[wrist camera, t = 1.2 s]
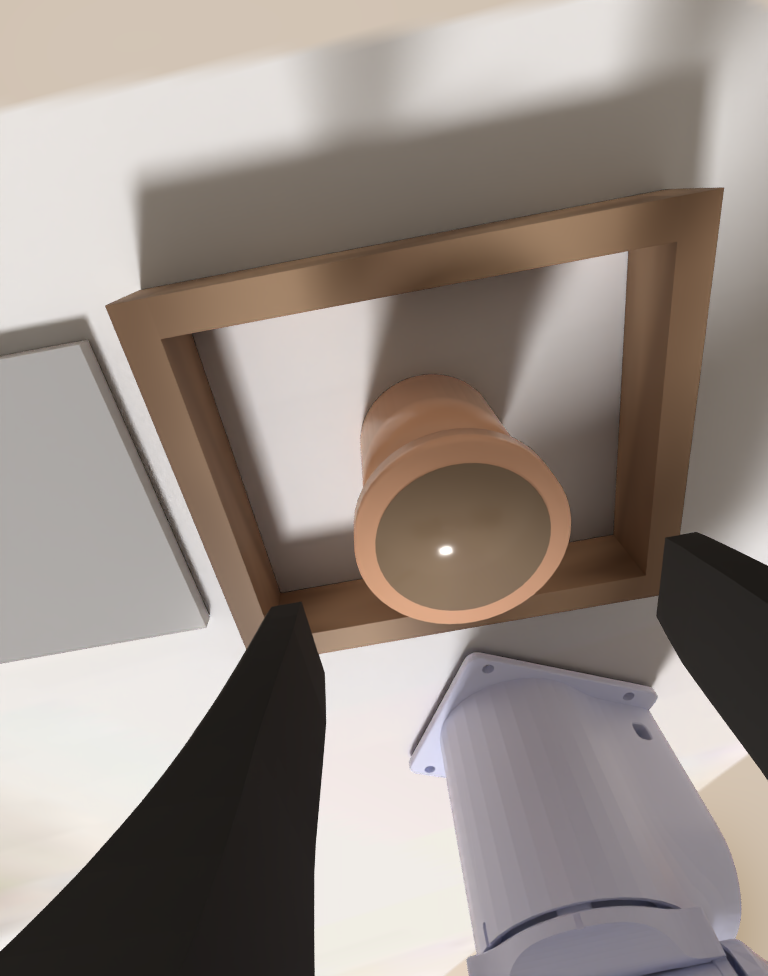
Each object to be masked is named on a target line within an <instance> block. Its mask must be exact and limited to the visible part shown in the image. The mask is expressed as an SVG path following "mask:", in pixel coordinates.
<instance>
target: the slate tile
mask: <svg viewBox="0 0 768 976" xmlns="http://www.w3.org/2000/svg"><path fill="white" fill-rule="evenodd" d="M209 618H210V616H209V614H208V612H207V609H206V607H205V605H204V602H203V600H202V598H201V596H200V593H199V591H198V589H197V587H196V584H195V582H194V580H193V577H192V575H191V573H190V571H189V568H188V566H187V564H186V562H185V559H184V557H183V555H182V552H181V550H180V548H179V546H178V543H177V541H176V539H175V536H174V534H173V532H172V530H171V527H170V525H169V523H168V521H167V518H166V516H165V514H164V511H163V509H162V507H161V505H160V502H159V500H158V498H157V496H156V493H155V491H154V489H153V486H152V484H151V482H150V480H149V477H148V475H147V473H146V470H145V468H144V466H143V464H142V461H141V459H140V457H139V455H138V452H137V450H136V448H135V445H134V443H133V441H132V439H131V436H130V434H129V432H128V430H127V427H126V425H125V423H124V420H123V418H122V416H121V414H120V411H119V409H118V407H117V404H116V402H115V400H114V398H113V395H112V393H111V391H110V389H109V386H108V384H107V382H106V379H105V377H104V375H103V373H102V370H101V368H100V366H99V364H98V361H97V359H96V357H95V354H94V352H93V350H92V348H91V345H90V343H89V341H88V340H83V341H78V342H73V343H67V344H62V345H57V346H51V347H46V348H41V349H36V350H30V351H25V352H20V353H15V354H9V355H4V356H0V664H2V663H7V662H13V661H19V660H24V659H30V658H36V657H42V656H47V655H53V654H59V653H65V652H70V651H76V650H82V649H87V648H93V647H99V646H105V645H110V644H116V643H122V642H127V641H133V640H139V639H145V638H150V637H156V636H162V635H168V634H173V633H179V632H185V631H190V630H196V629H202V628H206V627H207V624H208V621H209Z"/></svg>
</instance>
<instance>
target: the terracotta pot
mask: <svg viewBox="0 0 768 976" xmlns="http://www.w3.org/2000/svg"><path fill="white" fill-rule="evenodd" d="M360 445H361V462H362V478H363V489H362V491H361V494H360V496H359V498H358V501H357V505H356V509H355V515H354V551H355V557H356V562H357V566H358V568H359V571H360V574H361V576H362V577H363V579H364V581H365V583H366V584H367V586H368V587H369V588H370V590H371V591H372V592H373V593H374V594H375V595H376V596H377V597H378V598H379V599H380V600H381V601H382V602H383V603H385V604H386V605H388V606H389V607H390V608H392V609H394V610H396V611H397V612H399V613H401V614H403V615H406V616H408V617H411V618H414V619H417V620H421V621H425V622H431V623H438V624H462V623H469V622H476V621H480V620H484V619H488V618H491V617H494V616H497V615H499V614H502V613H504V612H506V611H508V610H510V609H513V608H514V607H516V606H518V605H519V604H521V603H523V602H524V601H526V600H527V599H528V598H530V597H531V596H532V595H534V594H535V593H536V592H537V591H538V590H539V589H540V588H541V587H542V586H543V585H544V584H545V583H546V582H547V581H548V580H549V579H550V577H551V576H552V575H553V573H554V572H555V570H556V569H557V567H558V566H559V564H560V562H561V560H562V558H563V556H564V554H565V551H566V548H567V546H568V542H569V537H570V532H571V515H570V507H569V504H568V500H567V497H566V495H565V493H564V490H563V488H562V486H561V485H560V483H559V482H558V480H557V479H556V478H555V476H554V475H553V473H552V472H551V471H550V469H549V468H548V467H547V465H546V464H545V463H544V461H543V460H542V459H541V458H540V457H539V456H538V455H537V454H536V453H535V452H534V451H533V450H532V449H530V448H529V447H528V446H526V445H525V444H524V443H522V442H520V441H518V440H516V439H515V438H513V437H511V436H510V435H509V433H508V432H507V431H506V429H505V428H504V426H503V425H502V423H501V422H500V420H499V419H498V418H497V416H496V415H495V413H494V412H493V410H492V409H491V408H490V406H489V405H488V403H487V402H486V400H485V399H484V398H483V396H482V395H481V394H480V393H479V392H478V391H477V390H476V389H474V388H473V387H472V386H470V385H469V384H467V383H465V382H464V381H462V380H459V379H457V378H454V377H450V376H446V375H438V374H426V375H419V376H415V377H411V378H408V379H405V380H403V381H401V382H398V383H397V384H395V385H393V386H392V387H390V388H389V389H388V390H386V391H385V392H384V393H383V394H382V395H381V396H380V397H379V398H378V399H377V400H376V401H375V402H374V404H373V405H372V406H371V408H370V409H369V411H368V413H367V415H366V417H365V420H364V422H363V426H362V430H361V437H360Z"/></svg>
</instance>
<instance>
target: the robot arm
mask: <svg viewBox="0 0 768 976" xmlns="http://www.w3.org/2000/svg"><path fill="white" fill-rule="evenodd" d="M656 616H657V618H658V620H659V622H660V624H661V626H662V628H663V629H664V631H665V633H666V635H667V637H668V639H669V641H670V642H671V644H672V646H673V648H674V649H675V651H676V653H677V655H678V656H679V658H680V660H681V662H682V663H683V665H684V666H685V667H686V669H687V670H688V672H689V673H690V675H691V676H692V677H693V679H694V680H695V681H696V683H697V684H698V686H699V687H700V688H701V690H702V691H703V692H704V694H705V695H706V697H707V698H708V699H709V701H710V702H711V703H712V705H713V706H714V707H715V709H716V710H717V712H718V713H719V714H720V716H721V717H722V718H723V720H724V721H725V722H726V724H727V725H728V726H729V728H730V729H731V730H732V732H733V733H734V735H735V736H736V737H737V739H738V740H739V741H740V743H741V744H742V745H743V747H744V748H745V749H746V751H747V752H748V754H749V755H750V756H751V758H752V759H753V760H754V762H755V763H756V764H757V766H758V767H759V768H760V770H761V771H762V773H763V774H764V776H765V777H766V779H767V780H768V566H767V565H765V564H763V563H761V562H759V561H757V560H755V559H753V558H751V557H749V556H747V555H745V554H743V553H741V552H739V551H737V550H735V549H733V548H730V547H728V546H726V545H724V544H722V543H720V542H718V541H716V540H714V539H711V538H709V537H707V536H705V535H702V534H700V533H698V532H694V533H688V534H683V535H677V536H671V537H666V538H665V544H664V553H663V562H662V571H661V580H660V589H659V598H658V606H657V615H656ZM486 665H488V666H486ZM656 700H657V694H656V692H655V691H654V689H653V688H652V687H649V686H644V685H639V684H634V683H629V682H624V681H619V680H614V679H609V678H604V677H599V676H594V675H589V674H584V673H580V672H575V671H570V670H565V669H560V668H555V667H550V666H545V665H540V664H535V663H530V662H525V661H520V660H515V659H510V658H505V657H500V656H495V655H490V654H485V653H480V652H475V653H471V654H469V655H468V656H467V657H466V658H465V659H464V661H463V663H462V665H461V667H460V669H459V670H458V672H457V674H456V676H455V678H454V680H453V681H452V683H451V685H450V687H449V689H448V691H447V692H446V694H445V696H444V698H443V700H442V702H441V703H440V705H439V707H438V709H437V711H436V713H435V714H434V716H433V718H432V720H431V722H430V724H429V725H428V727H427V729H426V731H425V733H424V735H423V736H422V738H421V740H420V742H419V744H418V746H417V747H416V749H415V751H414V753H413V755H412V756H411V758H410V761H409V766H410V770H411V771H412V772H413V773H416V774H423V775H429V776H436V777H443V778H446V780H447V786H448V792H449V798H450V803H451V809H452V815H453V821H454V826H455V832H456V838H457V843H458V849H459V855H460V861H461V866H462V872H463V878H464V884H465V889H466V895H467V901H468V907H469V912H470V918H471V924H472V929H473V935H474V941H475V947H476V952H477V955H474V956H470V957H468V958H467V967H468V973H469V976H768V961H766V960H764V959H763V958H762V957H760V956H759V955H757V954H756V953H754V952H753V951H752V950H751V949H750V948H749V947H748V946H747V945H745V944H744V943H743V942H741V941H740V940H737V939H735V938H736V935H737V932H738V929H739V925H740V920H741V895H740V888H739V882H738V877H737V873H736V868H735V865H734V862H733V859H732V856H731V853H730V851H729V848H728V846H727V843H726V841H725V839H724V837H723V835H722V833H721V832H720V830H719V828H718V826H717V824H716V822H715V821H714V819H713V817H712V816H711V814H710V813H709V811H708V809H707V807H706V806H705V804H704V802H703V801H702V799H701V797H700V796H699V794H698V792H697V790H696V789H695V787H694V785H693V784H692V782H691V780H690V779H689V777H688V775H687V774H686V772H685V770H684V769H683V767H682V765H681V764H680V762H679V760H678V758H677V757H676V755H675V753H674V752H673V750H672V748H671V747H670V745H669V743H668V742H667V740H666V738H665V737H664V735H663V733H662V731H661V730H660V728H659V726H658V725H657V723H656V721H655V720H654V718H653V716H652V715H651V713H650V711H649V709H650V708H651V707H652V706H653V704H654V703H655V702H656ZM325 730H326V696H325V673H324V670H323V666H322V663H321V660H320V657H319V654H318V651H317V648H316V645H315V642H314V638H313V635H312V632H311V629H310V626H309V623H308V620H307V617H306V613H305V610H304V607H303V604H302V601H301V602H296V603H290V604H284V605H279V606H273V607H271V608H270V610H269V611H268V612H267V614H266V616H265V618H264V619H263V621H262V623H261V625H260V626H259V628H258V630H257V632H256V634H255V635H254V637H253V639H252V641H251V642H250V644H249V646H248V648H247V649H246V651H245V653H244V654H243V656H242V658H241V660H240V661H239V663H238V665H237V666H236V668H235V670H234V671H233V673H232V674H231V676H230V678H229V679H228V681H227V683H226V684H225V686H224V687H223V689H222V691H221V692H220V694H219V696H218V697H217V699H216V700H215V702H214V703H213V705H212V706H211V708H210V709H209V711H208V712H207V714H206V715H205V717H204V718H203V720H202V721H201V722H200V724H199V725H198V727H197V728H196V730H195V731H194V733H193V734H192V736H191V737H190V739H189V740H188V742H187V743H186V744H185V746H184V747H183V749H182V750H181V751H180V753H179V754H178V755H177V757H176V758H175V759H174V761H173V762H172V763H171V765H170V766H169V767H168V769H167V770H166V771H165V773H164V774H163V775H162V777H161V778H160V779H159V780H158V782H157V783H156V784H155V785H154V787H153V788H152V789H151V790H150V792H149V793H148V794H147V795H146V797H145V798H144V799H143V800H142V802H141V803H140V804H139V805H138V806H137V808H136V809H135V810H134V811H133V812H132V813H131V815H130V816H129V817H128V818H127V819H126V820H125V822H124V823H123V824H122V825H121V826H120V827H119V829H118V830H117V831H116V832H115V833H114V834H113V835H112V836H111V838H110V839H109V840H108V841H107V842H106V843H105V844H104V845H103V847H102V848H101V849H100V850H99V851H98V852H97V853H96V854H95V856H94V857H93V858H92V859H91V860H90V861H89V862H88V863H87V865H86V866H85V867H84V868H83V869H82V870H81V871H80V872H79V873H78V874H77V875H76V876H75V877H74V878H73V879H72V880H71V881H70V882H69V884H68V885H67V886H66V887H65V888H64V889H63V890H62V891H61V892H60V893H59V894H58V895H57V896H56V897H55V898H54V899H53V900H52V901H51V902H50V903H49V904H48V905H47V906H46V907H45V908H44V909H43V910H42V911H41V912H40V913H39V914H38V915H37V916H36V917H35V918H34V919H33V920H32V921H31V922H30V923H29V924H28V925H27V926H26V927H25V928H24V929H23V930H22V931H21V932H20V933H19V934H18V935H17V936H16V937H15V938H14V939H13V940H12V941H11V942H10V943H9V944H8V945H7V946H6V947H4V948H3V949H2V950H1V951H0V976H315V968H314V867H315V848H316V835H317V823H318V812H319V801H320V789H321V778H322V767H323V755H324V743H325Z"/></svg>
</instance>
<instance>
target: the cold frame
mask: <svg viewBox="0 0 768 976" xmlns="http://www.w3.org/2000/svg"><path fill="white" fill-rule="evenodd" d="M723 192H724V188H690V189H665V190H660V191H655V192H650V193H645V194H639V195H634V196H629V197H624V198H618V199H613V200H608V201H603V202H598V203H592V204H587V205H582V206H577V207H571V208H566V209H561V210H556V211H550V212H545V213H540V214H535V215H530V216H524V217H519V218H514V219H509V220H503V221H498V222H493V223H488V224H482V225H477V226H472V227H467V228H462V229H456V230H451V231H446V232H441V233H435V234H430V235H425V236H420V237H415V238H409V239H404V240H399V241H394V242H388V243H383V244H378V245H373V246H367V247H362V248H357V249H352V250H347V251H341V252H336V253H331V254H326V255H320V256H315V257H310V258H305V259H299V260H294V261H289V262H284V263H279V264H273V265H268V266H263V267H258V268H252V269H247V270H242V271H237V272H232V273H226V274H221V275H216V276H211V277H205V278H200V279H195V280H190V281H184V282H179V283H174V284H169V285H164V286H158V287H153V288H148V289H143V290H139V291H137V292H134V293H132V294H130V295H128V296H126V297H123V298H121V299H119V300H117V301H114V302H112V303H110V304H108V305H106V306H105V307H106V309H107V312H108V314H109V316H110V319H111V321H112V324H113V326H114V329H115V331H116V333H117V336H118V338H119V341H120V343H121V346H122V348H123V351H124V353H125V355H126V358H127V360H128V363H129V365H130V368H131V370H132V372H133V375H134V377H135V380H136V382H137V385H138V387H139V389H140V392H141V394H142V397H143V399H144V402H145V404H146V406H147V409H148V411H149V414H150V416H151V419H152V421H153V424H154V426H155V428H156V431H157V433H158V436H159V438H160V441H161V443H162V445H163V448H164V450H165V453H166V455H167V458H168V460H169V462H170V465H171V467H172V470H173V472H174V475H175V477H176V479H177V482H178V484H179V487H180V489H181V492H182V494H183V497H184V499H185V501H186V504H187V506H188V509H189V511H190V514H191V516H192V518H193V521H194V523H195V526H196V528H197V531H198V533H199V535H200V538H201V540H202V543H203V545H204V548H205V550H206V552H207V555H208V557H209V560H210V562H211V565H212V567H213V570H214V572H215V574H216V577H217V579H218V582H219V584H220V587H221V589H222V591H223V594H224V596H225V599H226V601H227V604H228V606H229V608H230V611H231V613H232V616H233V618H234V621H235V623H236V626H237V628H238V630H239V633H240V635H241V638H242V640H243V643H244V645H245V647H246V649H247V648H248V646H249V644H250V642H251V641H252V639H253V637H254V635H255V634H256V632H257V630H258V628H259V626H260V625H261V623H262V621H263V619H264V618H265V616H266V614H267V612H268V611H269V610H270V608H271V607H273V606H279V605H284V604H290V603H296V602H301V601H302V604H303V607H304V610H305V613H306V617H307V620H308V623H309V626H310V629H311V632H312V635H313V638H314V642H315V645H316V648H317V651H318V654H322V653H328V652H333V651H339V650H345V649H351V648H357V647H362V646H368V645H374V644H380V643H386V642H391V641H397V640H403V639H409V638H415V637H420V636H426V635H432V634H438V633H444V632H449V631H455V630H461V629H467V628H472V627H478V626H484V625H490V624H496V623H501V622H507V621H513V620H519V619H525V618H530V617H536V616H542V615H548V614H554V613H559V612H565V611H571V610H577V609H583V608H588V607H594V606H600V605H606V604H612V603H617V602H623V601H629V600H635V599H640V598H646V597H652V596H658V595H659V589H660V580H661V571H662V562H663V553H664V544H665V538H666V537H671V536H677V535H680V529H681V521H682V514H683V506H684V498H685V490H686V482H687V474H688V467H689V459H690V451H691V443H692V435H693V427H694V420H695V412H696V404H697V396H698V388H699V380H700V373H701V365H702V357H703V349H704V341H705V333H706V326H707V318H708V310H709V302H710V294H711V286H712V279H713V271H714V263H715V255H716V247H717V239H718V231H719V224H720V216H721V208H722V200H723ZM625 251H628V270H627V289H626V307H625V326H624V345H623V364H622V383H621V401H620V420H619V439H618V458H617V477H616V495H615V514H614V533H613V535H609V536H604V537H598V538H592V539H587V540H581V541H575V542H570V543H568V546H567V548H566V551H565V554H564V556H563V558H562V560H561V562H560V564H559V566H558V567H557V569H556V570H555V572H554V573H553V575H552V576H551V577H550V579H549V580H548V581H547V582H546V583H545V584H544V585H543V586H542V587H541V588H540V589H539V590H538V591H537V592H536V593H535V594H534V595H532V596H531V597H530V598H528V599H527V600H526V601H524V602H523V603H521V604H519V605H518V606H516V607H514V608H513V609H510V610H508V611H506V612H504V613H502V614H499V615H497V616H494V617H491V618H488V619H484V620H480V621H476V622H469V623H462V624H438V623H431V622H425V621H421V620H417V619H414V618H411V617H408V616H406V615H403V614H401V613H399V612H397V611H396V610H394V609H392V608H390V607H389V606H388V605H386V604H385V603H383V602H382V601H381V600H380V599H379V598H378V597H377V596H376V595H375V594H374V593H373V592H372V591H371V590H370V588H369V587H368V586H367V584H366V583H365V581H364V579H359V580H353V581H348V582H342V583H336V584H331V585H325V586H319V587H314V588H308V589H302V590H296V591H291V592H285V593H280V590H279V587H278V585H277V582H276V579H275V576H274V573H273V570H272V567H271V564H270V561H269V558H268V555H267V552H266V549H265V547H264V544H263V541H262V538H261V535H260V532H259V529H258V526H257V523H256V520H255V517H254V514H253V511H252V509H251V506H250V503H249V500H248V497H247V494H246V491H245V488H244V485H243V482H242V479H241V476H240V474H239V471H238V468H237V465H236V462H235V459H234V456H233V453H232V450H231V447H230V444H229V441H228V438H227V436H226V433H225V430H224V427H223V424H222V421H221V418H220V415H219V412H218V409H217V406H216V403H215V400H214V398H213V395H212V392H211V389H210V386H209V383H208V380H207V377H206V374H205V371H204V368H203V365H202V363H201V360H200V357H199V354H198V351H197V348H196V345H195V342H194V339H193V336H192V333H196V332H201V331H207V330H212V329H217V328H223V327H228V326H233V325H239V324H244V323H249V322H254V321H260V320H265V319H270V318H276V317H281V316H286V315H291V314H297V313H302V312H307V311H313V310H318V309H323V308H329V307H334V306H339V305H344V304H350V303H355V302H360V301H366V300H371V299H376V298H382V297H387V296H392V295H397V294H403V293H408V292H413V291H419V290H424V289H429V288H435V287H440V286H445V285H450V284H456V283H461V282H466V281H472V280H477V279H482V278H488V277H493V276H498V275H503V274H509V273H514V272H519V271H525V270H530V269H535V268H541V267H546V266H551V265H556V264H562V263H567V262H572V261H578V260H583V259H588V258H593V257H599V256H604V255H609V254H615V253H620V252H625Z"/></svg>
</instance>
